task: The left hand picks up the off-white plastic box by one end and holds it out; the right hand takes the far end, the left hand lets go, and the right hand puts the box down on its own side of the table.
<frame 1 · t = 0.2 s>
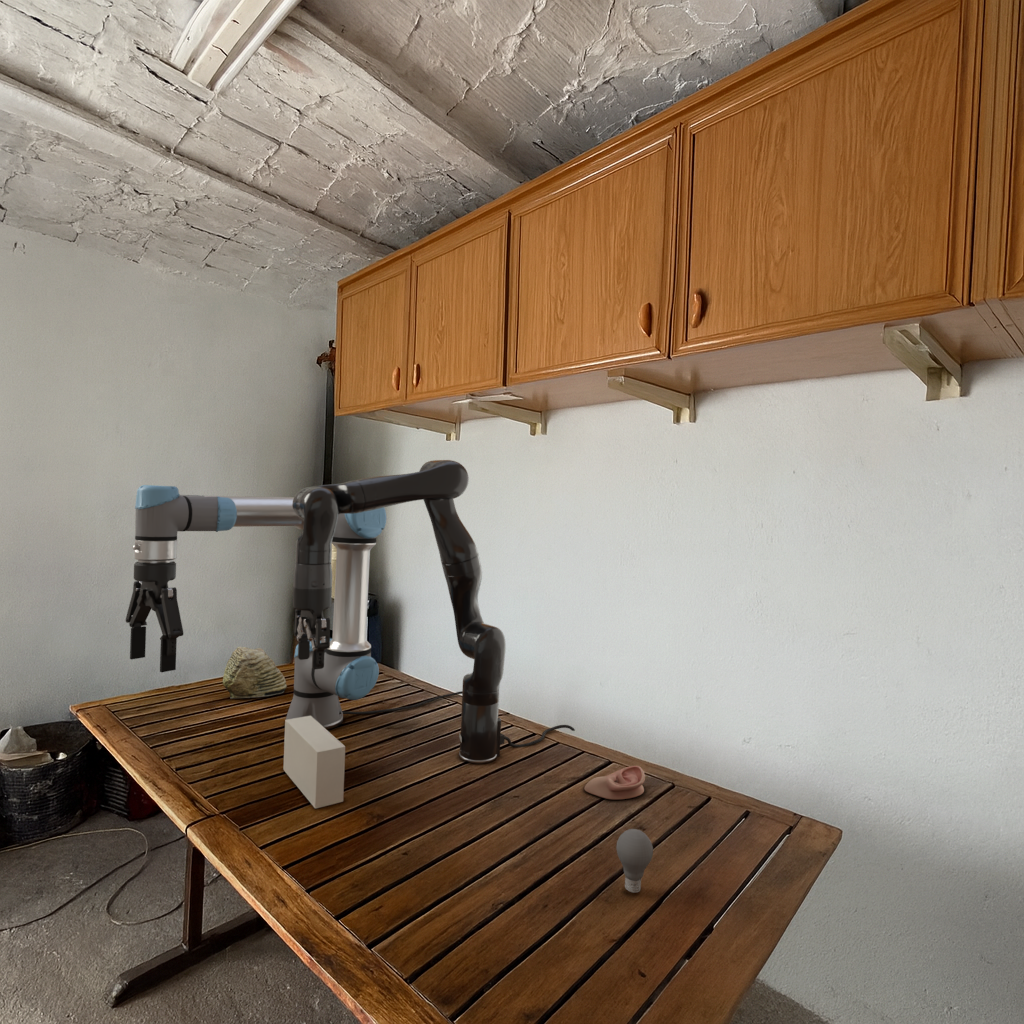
left hand: (152, 664, 130), 28 cm above the table, tool pointing down, fingers open, 13 cm apart
right hand: (310, 663, 130), 29 cm above the table, tool pointing down, fingers open, 8 cm apart
box: (311, 784, 139), on the table
fossil: (254, 694, 198), on the table
light bulb: (632, 891, 106), on the table
anatomical model: (614, 789, 143), on the table
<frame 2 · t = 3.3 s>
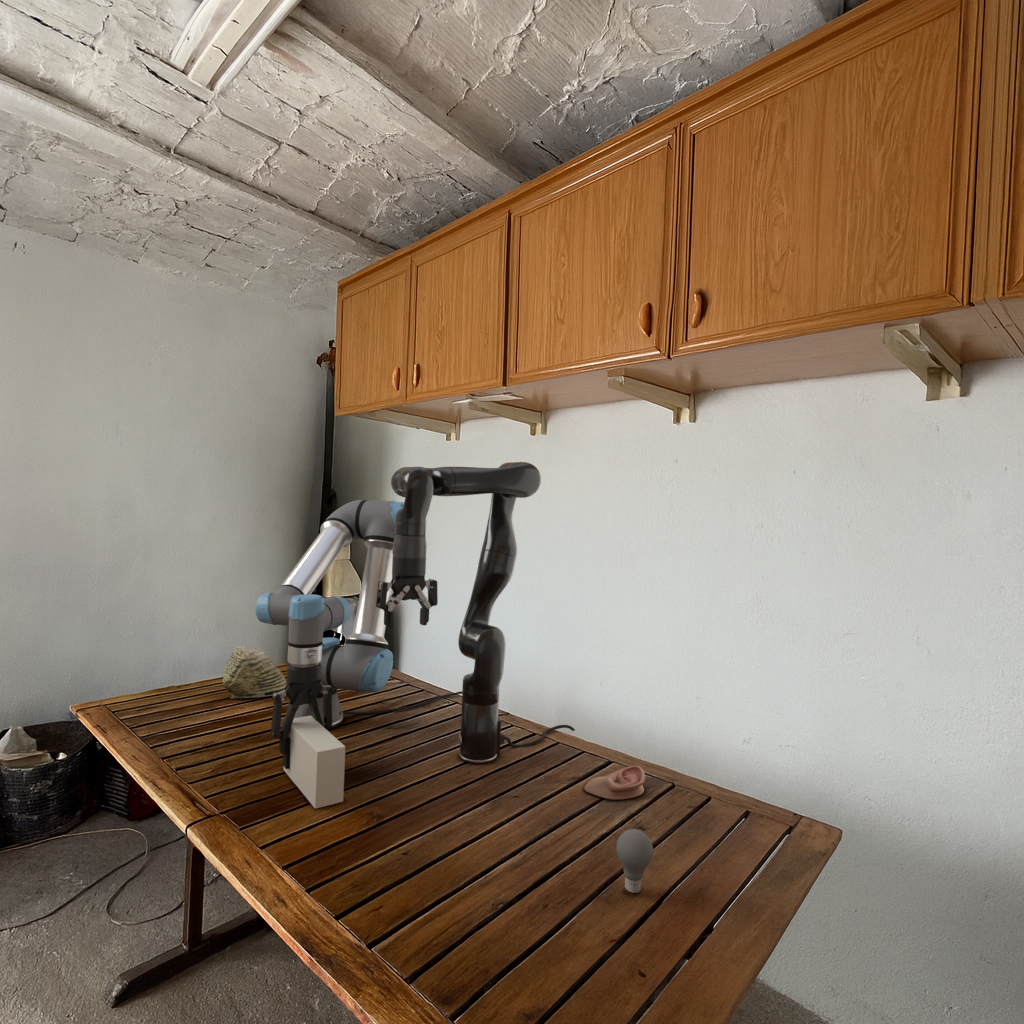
left hand: (300, 763, 145), 2 cm above the table, tool pointing down, fingers closed on box, 6 cm apart
right hand: (406, 626, 144), 35 cm above the table, tool pointing down, fingers open, 8 cm apart
box: (311, 784, 139), on the table, touching left hand
everything else where it was.
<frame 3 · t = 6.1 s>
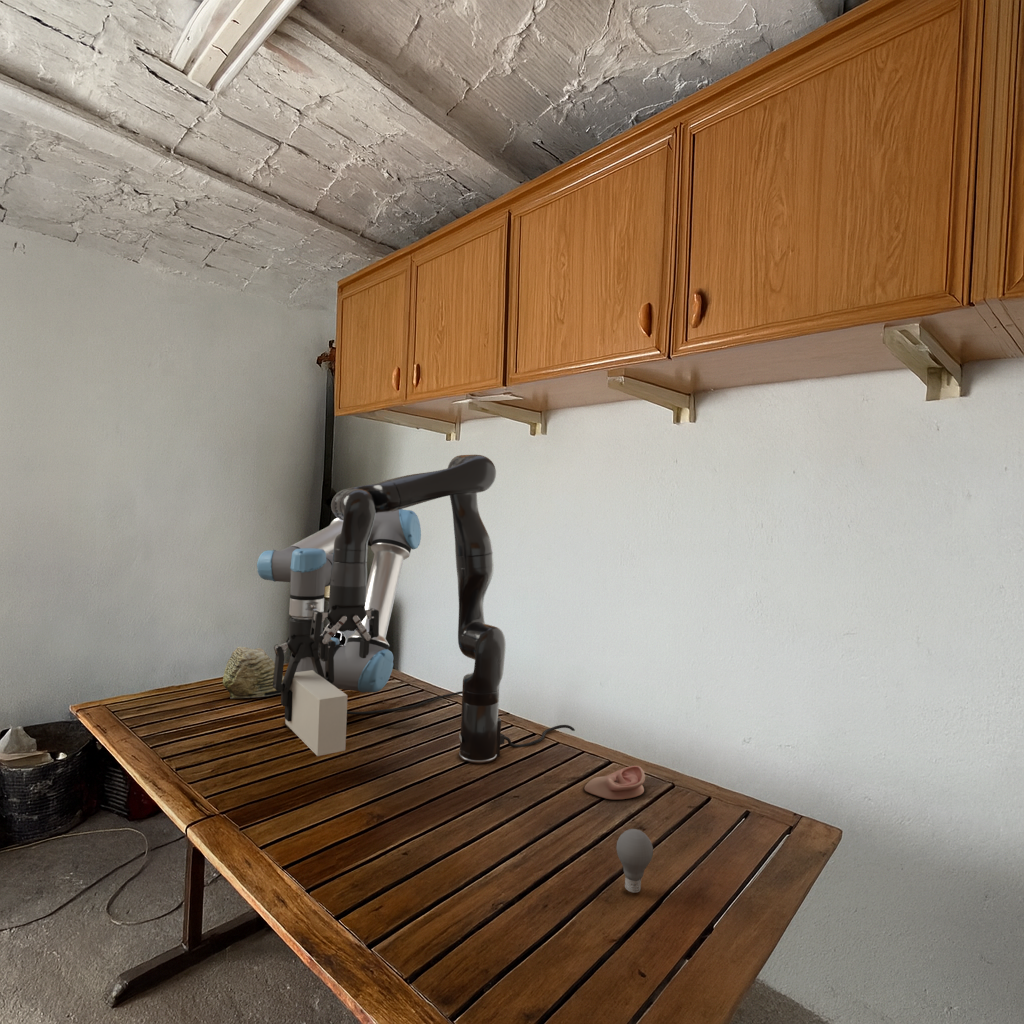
left hand: (302, 716, 145), 13 cm above the table, tool pointing down, fingers closed on box, 6 cm apart
right hand: (343, 659, 134), 29 cm above the table, tool pointing down, fingers open, 8 cm apart
box: (313, 736, 139), point 11 cm above the table, touching left hand
everything else where it was.
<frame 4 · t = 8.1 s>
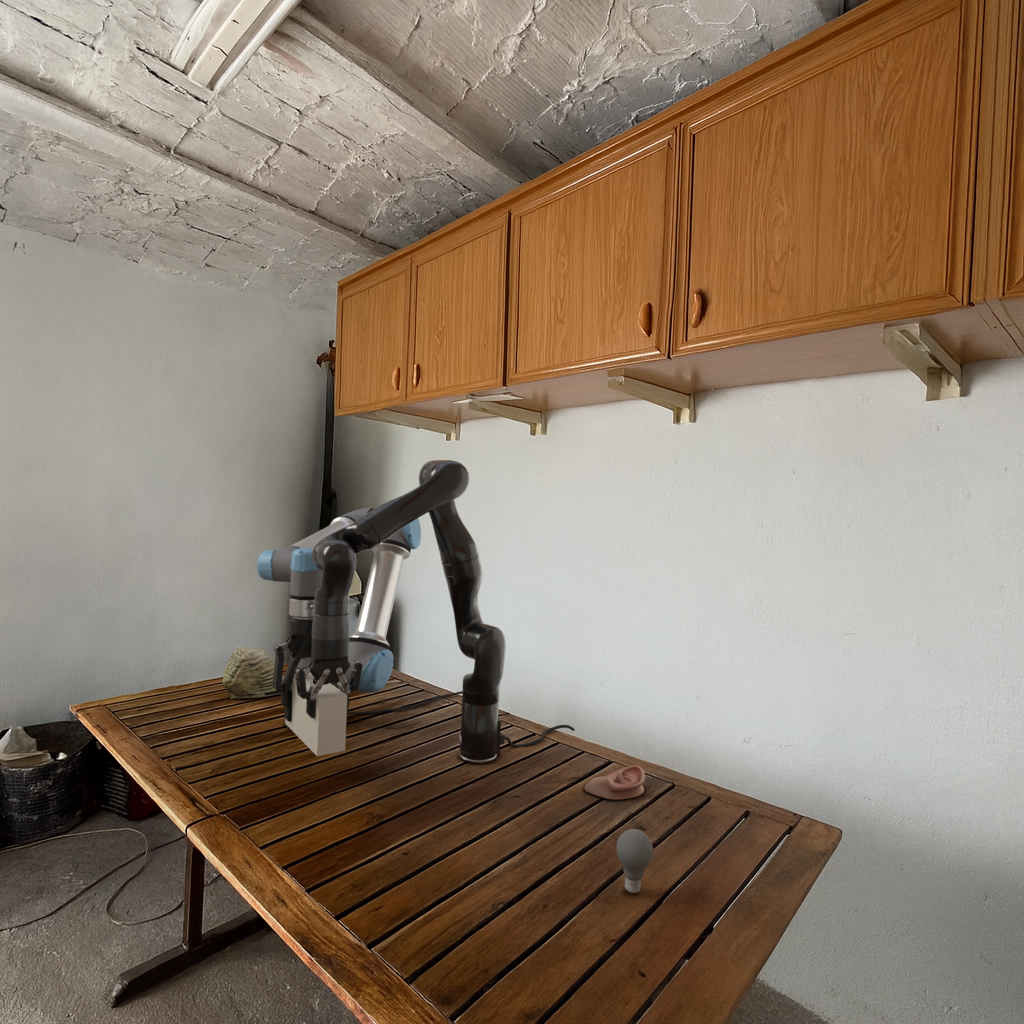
left hand: (302, 716, 145), 13 cm above the table, tool pointing down, fingers closed on box, 6 cm apart
right hand: (327, 714, 132), 18 cm above the table, tool pointing down, fingers closed on box, 6 cm apart
box: (313, 736, 139), point 11 cm above the table, touching left hand, right hand
everything else where it was.
when the left hand's fingers open (13 cm above the table, at t = 9.0 s): box stays where it is, held by the right hand.
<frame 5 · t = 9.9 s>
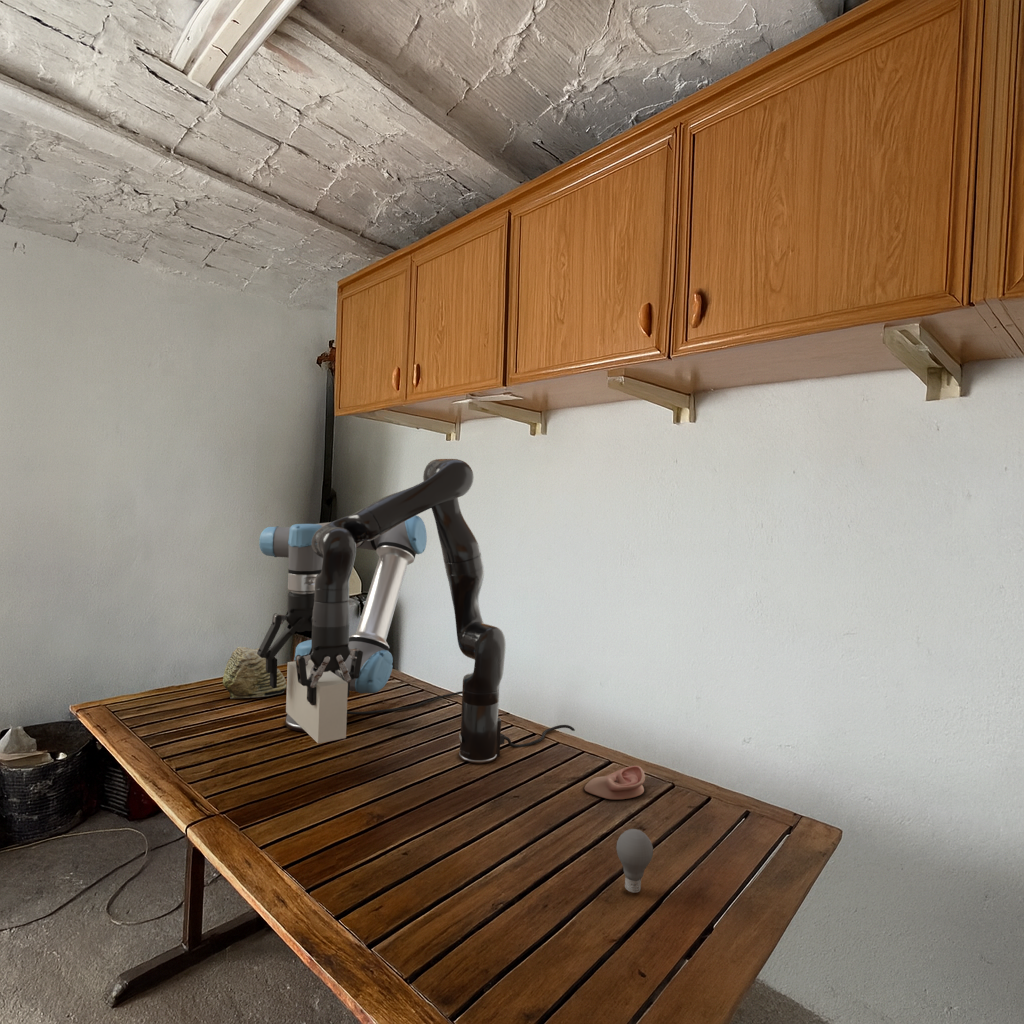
left hand: (303, 681, 147), 20 cm above the table, tool pointing down, fingers open, 13 cm apart
right hand: (328, 701, 132), 21 cm above the table, tool pointing down, fingers closed on box, 6 cm apart
box: (314, 724, 139), point 13 cm above the table, touching right hand
everything else where it was.
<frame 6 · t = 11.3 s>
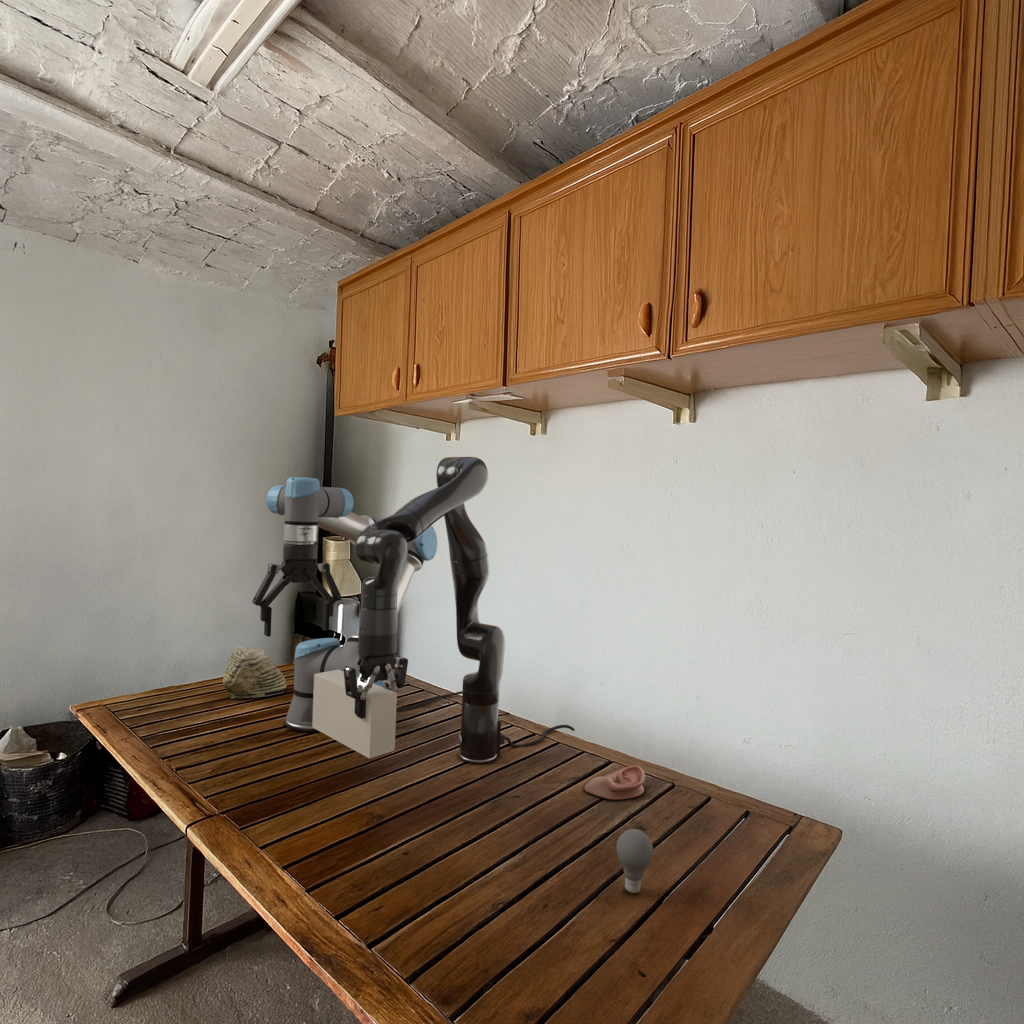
left hand: (297, 632, 149), 31 cm above the table, tool pointing down, fingers open, 13 cm apart
right hand: (375, 713, 126), 21 cm above the table, tool pointing down, fingers closed on box, 6 cm apart
box: (351, 738, 131), point 14 cm above the table, touching right hand
everything else where it was.
when the right hand's fingers open (8 cm above the table, at t = 14.8 s): box stays where it is, on the table.
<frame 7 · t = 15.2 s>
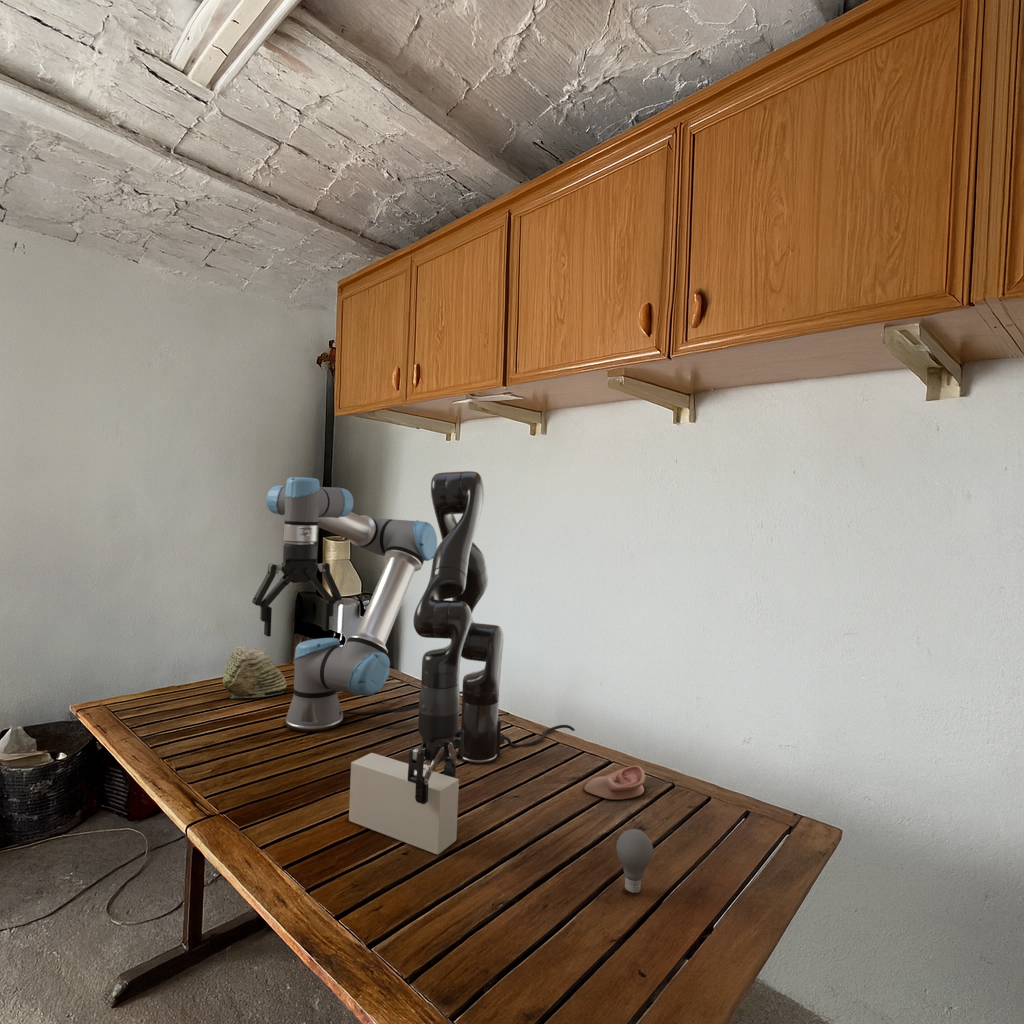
left hand: (297, 632, 149), 31 cm above the table, tool pointing down, fingers open, 13 cm apart
right hand: (435, 793, 118), 9 cm above the table, tool pointing down, fingers open, 8 cm apart
box: (401, 830, 122), on the table
everything else where it was.
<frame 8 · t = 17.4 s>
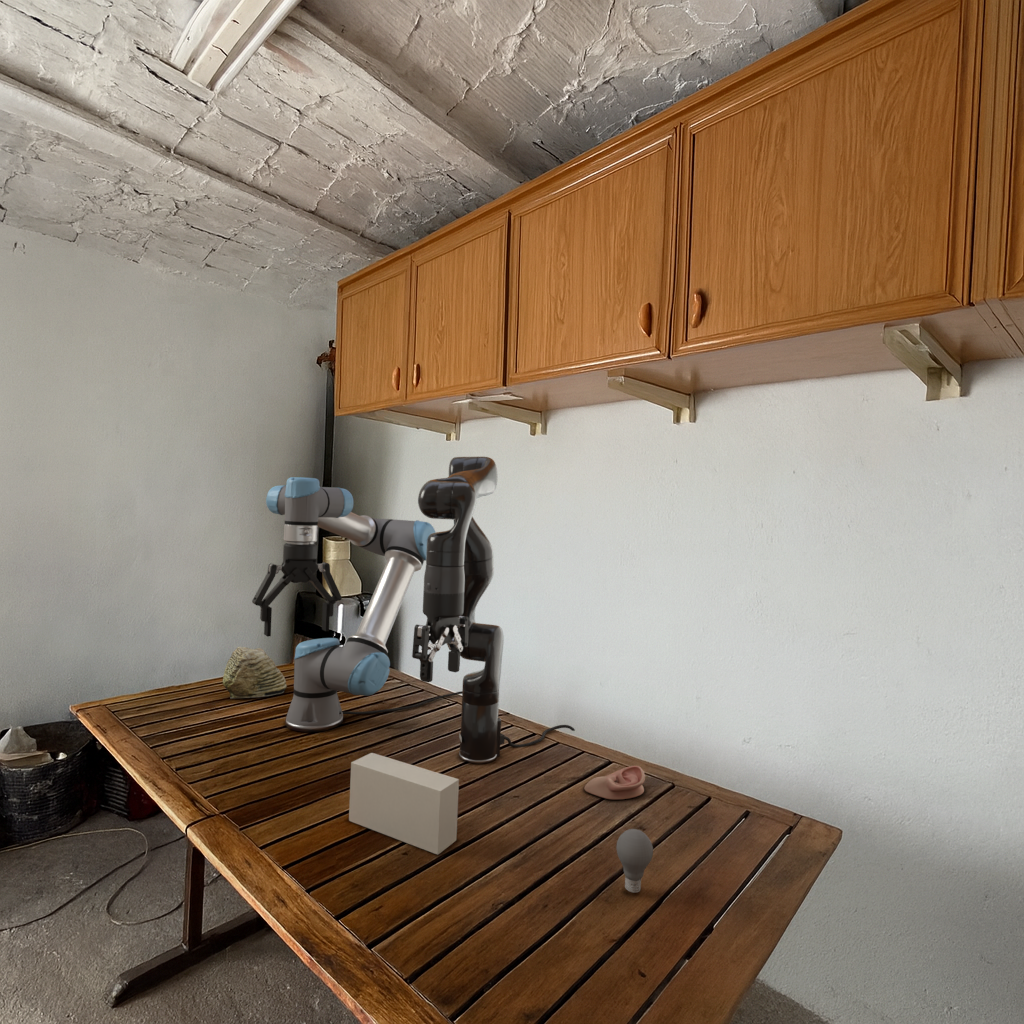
left hand: (297, 632, 149), 31 cm above the table, tool pointing down, fingers open, 13 cm apart
right hand: (440, 676, 117), 31 cm above the table, tool pointing down, fingers open, 8 cm apart
nothing on the table moved.
at the end: box inside the target area (7.6 cm from its centre), on the table; the left hand is holding nothing; the right hand is holding nothing; box at rest at the end (0.0 cm/s) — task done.
